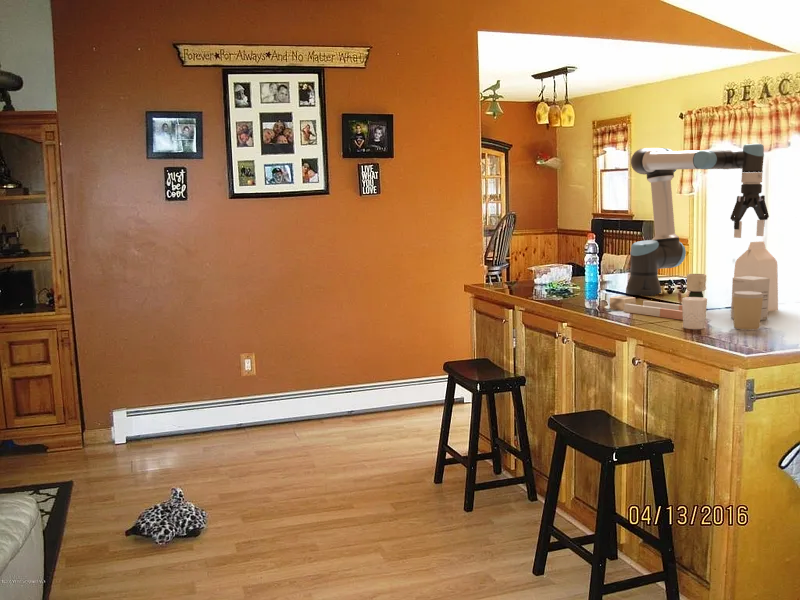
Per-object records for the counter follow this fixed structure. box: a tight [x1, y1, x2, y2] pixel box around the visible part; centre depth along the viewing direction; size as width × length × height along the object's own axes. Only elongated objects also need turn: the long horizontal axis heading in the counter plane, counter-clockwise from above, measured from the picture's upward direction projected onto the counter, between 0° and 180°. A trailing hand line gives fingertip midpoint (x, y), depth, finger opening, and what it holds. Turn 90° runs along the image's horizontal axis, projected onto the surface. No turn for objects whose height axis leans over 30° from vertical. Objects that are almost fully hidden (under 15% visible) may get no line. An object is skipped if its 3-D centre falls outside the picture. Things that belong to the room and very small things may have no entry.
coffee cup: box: [733, 291, 763, 331], centre depth 259 cm, size 9×9×12 cm
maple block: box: [609, 295, 636, 311], centre depth 307 cm, size 7×7×4 cm
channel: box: [623, 300, 683, 321], centre depth 291 cm, size 26×13×3 cm, turn 36°
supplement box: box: [730, 276, 770, 321], centre depth 276 cm, size 9×9×15 cm
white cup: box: [681, 296, 708, 330], centre depth 262 cm, size 8×8×10 cm
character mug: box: [686, 273, 707, 298], centre depth 304 cm, size 11×7×13 cm, turn 5°
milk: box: [731, 240, 779, 312], centre depth 295 cm, size 12×12×26 cm
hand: (748, 236), depth 311 cm, fingers open, 13 cm apart
